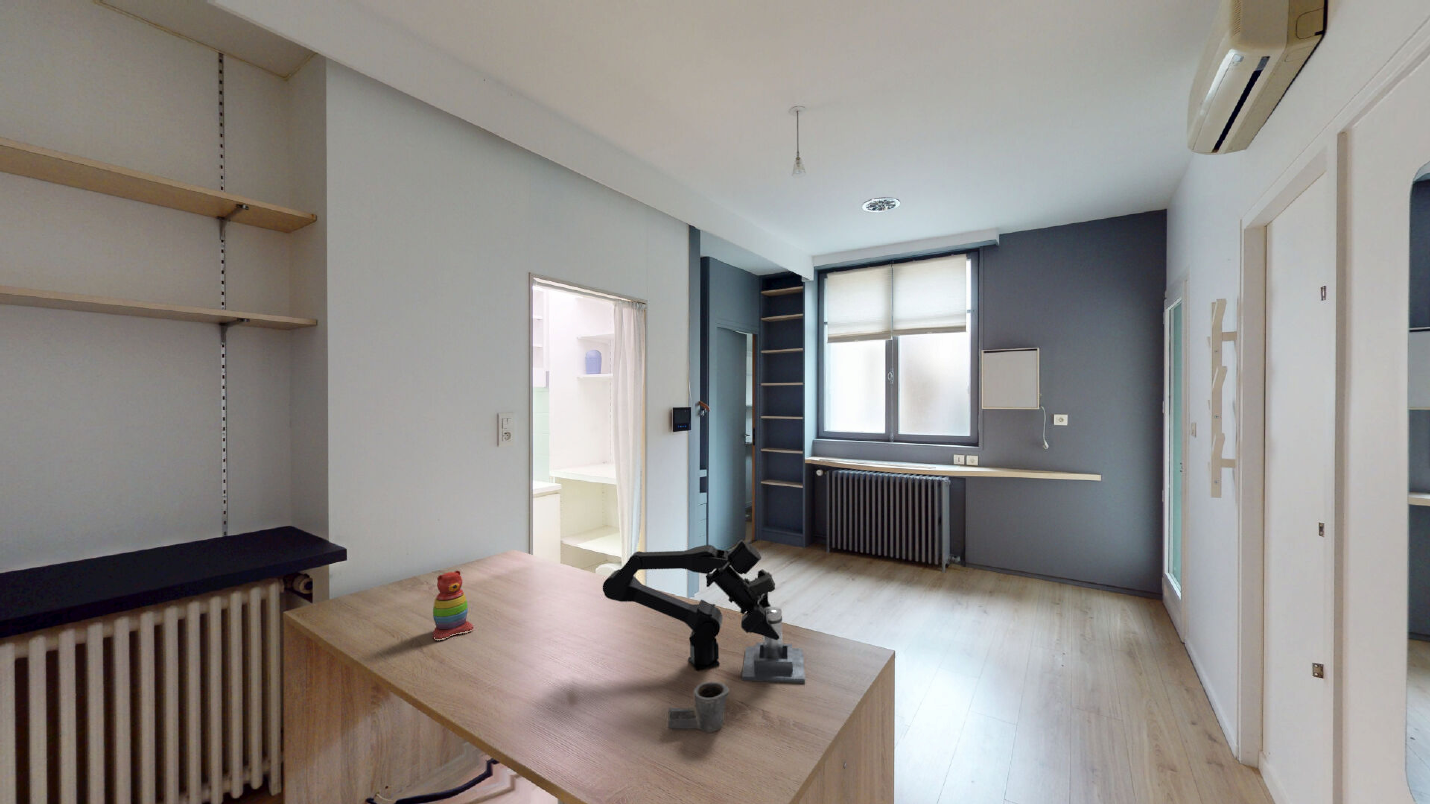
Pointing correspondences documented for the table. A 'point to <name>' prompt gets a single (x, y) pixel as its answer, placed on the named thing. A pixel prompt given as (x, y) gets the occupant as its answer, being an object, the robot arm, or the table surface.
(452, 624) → the stacking bear
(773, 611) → the silver banded cylinder
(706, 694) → the pipe
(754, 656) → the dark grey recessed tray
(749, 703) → the table surface
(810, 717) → the table surface
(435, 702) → the table surface
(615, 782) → the table surface
